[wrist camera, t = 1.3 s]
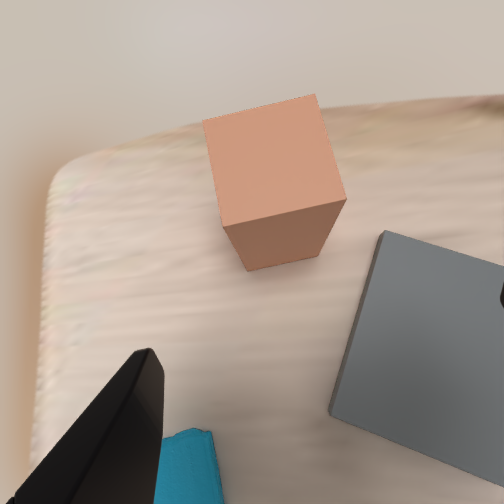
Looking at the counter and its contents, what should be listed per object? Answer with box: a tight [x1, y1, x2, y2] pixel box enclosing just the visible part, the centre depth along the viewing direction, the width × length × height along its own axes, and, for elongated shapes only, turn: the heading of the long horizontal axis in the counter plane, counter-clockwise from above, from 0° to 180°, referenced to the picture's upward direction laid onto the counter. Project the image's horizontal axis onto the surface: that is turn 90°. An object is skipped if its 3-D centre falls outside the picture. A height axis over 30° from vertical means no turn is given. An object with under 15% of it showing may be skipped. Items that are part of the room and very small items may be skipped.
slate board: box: [328, 230, 504, 487], centre depth 19 cm, size 12×10×1 cm
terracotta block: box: [203, 94, 347, 271], centre depth 18 cm, size 5×5×10 cm
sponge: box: [154, 428, 224, 504], centre depth 19 cm, size 2×12×6 cm
